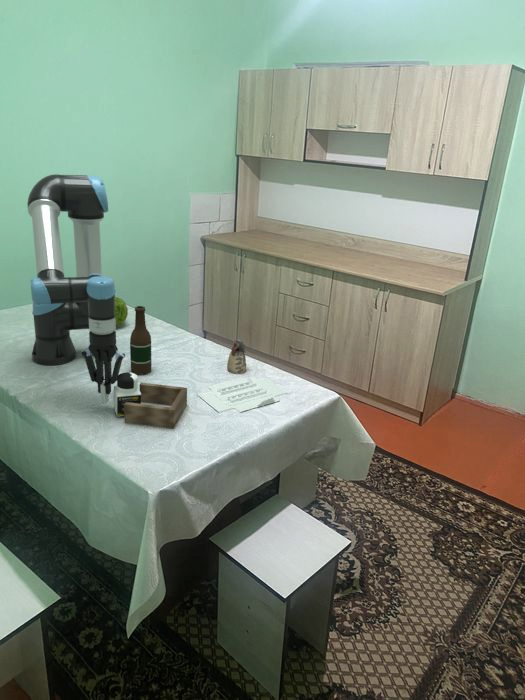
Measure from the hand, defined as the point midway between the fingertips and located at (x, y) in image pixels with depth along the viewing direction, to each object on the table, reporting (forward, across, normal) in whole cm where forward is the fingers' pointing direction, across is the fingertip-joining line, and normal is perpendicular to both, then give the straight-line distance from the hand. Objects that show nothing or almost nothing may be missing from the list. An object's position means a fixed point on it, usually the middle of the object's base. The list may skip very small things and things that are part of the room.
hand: (105, 402), depth 164 cm
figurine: (+1, +34, +39) cm, 52 cm away
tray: (+2, +40, +20) cm, 45 cm away
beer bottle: (+2, +1, +29) cm, 29 cm away
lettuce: (+1, -30, +73) cm, 79 cm away
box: (+2, +16, +1) cm, 16 cm away
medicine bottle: (+2, +7, 0) cm, 7 cm away
